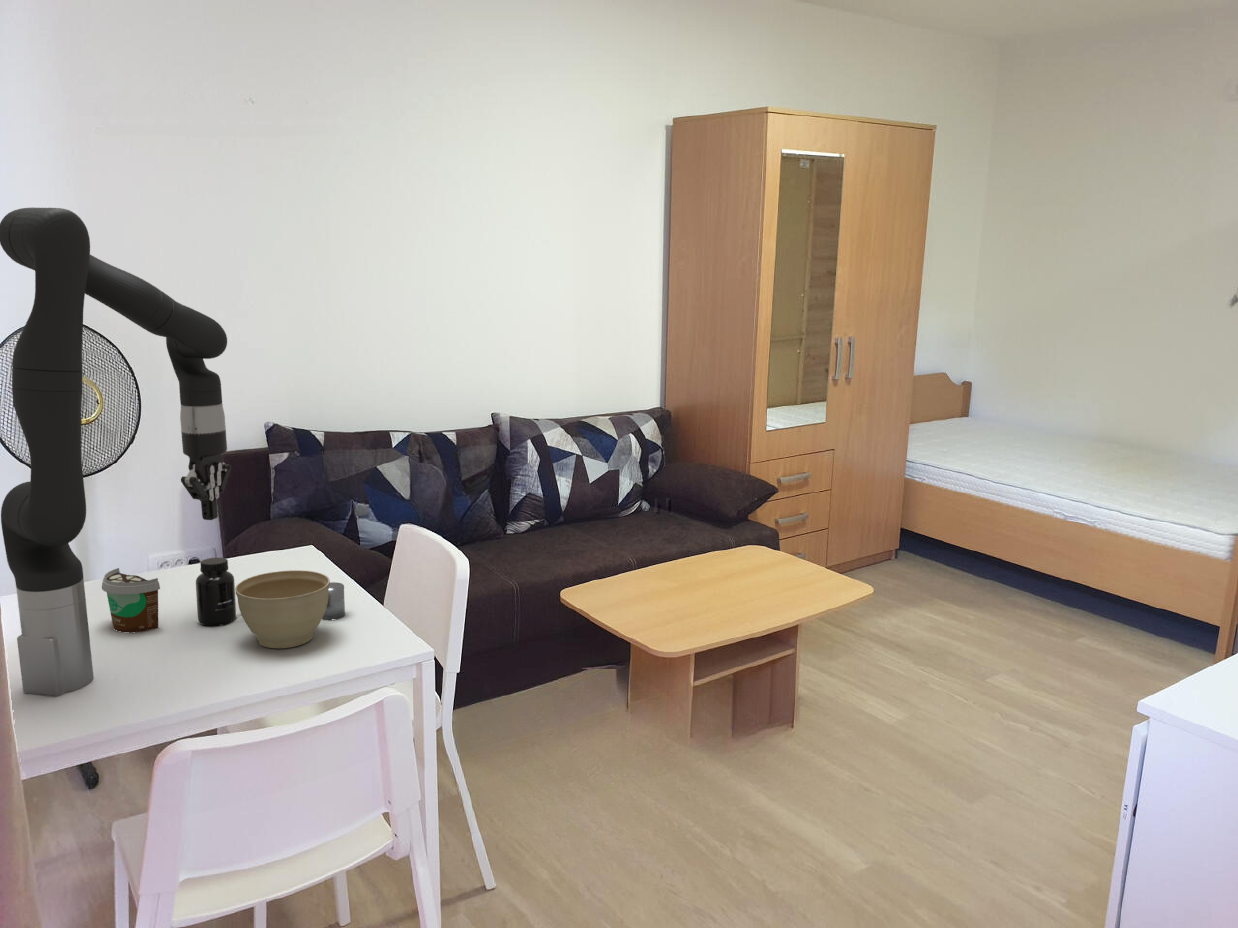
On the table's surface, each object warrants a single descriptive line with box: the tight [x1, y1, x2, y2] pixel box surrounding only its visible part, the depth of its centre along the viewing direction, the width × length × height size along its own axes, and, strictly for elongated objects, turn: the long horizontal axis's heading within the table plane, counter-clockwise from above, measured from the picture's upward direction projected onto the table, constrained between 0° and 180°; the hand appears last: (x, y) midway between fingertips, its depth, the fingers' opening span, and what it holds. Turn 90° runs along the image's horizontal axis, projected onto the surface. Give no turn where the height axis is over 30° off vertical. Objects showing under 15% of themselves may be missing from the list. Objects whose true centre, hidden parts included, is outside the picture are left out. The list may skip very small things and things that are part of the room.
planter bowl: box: [235, 569, 331, 649], centre depth 170 cm, size 16×16×11 cm
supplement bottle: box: [195, 557, 237, 627], centre depth 178 cm, size 7×7×12 cm
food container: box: [101, 567, 161, 634], centre depth 174 cm, size 12×6×10 cm, turn 62°
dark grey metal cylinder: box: [322, 581, 346, 621], centre depth 183 cm, size 5×5×6 cm
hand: (210, 518), depth 175 cm, fingers closed
